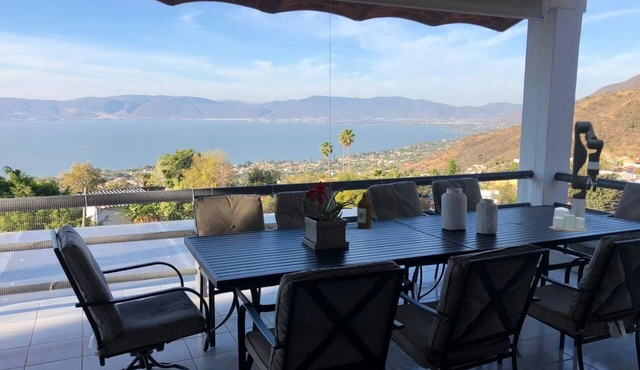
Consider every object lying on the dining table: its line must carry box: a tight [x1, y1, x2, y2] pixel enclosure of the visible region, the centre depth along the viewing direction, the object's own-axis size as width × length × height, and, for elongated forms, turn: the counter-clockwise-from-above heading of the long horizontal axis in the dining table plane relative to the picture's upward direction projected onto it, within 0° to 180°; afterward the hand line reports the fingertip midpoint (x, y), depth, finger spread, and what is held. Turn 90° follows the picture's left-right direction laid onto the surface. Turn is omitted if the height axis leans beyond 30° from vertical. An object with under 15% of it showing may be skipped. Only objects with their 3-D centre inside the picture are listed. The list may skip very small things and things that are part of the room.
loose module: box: [563, 214, 575, 228], centre depth 344 cm, size 4×6×9 cm, turn 85°
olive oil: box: [356, 191, 373, 230], centre depth 345 cm, size 11×11×25 cm
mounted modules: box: [552, 216, 586, 229], centre depth 344 cm, size 6×19×7 cm, turn 86°
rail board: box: [549, 226, 589, 232], centre depth 345 cm, size 10×22×1 cm, turn 86°
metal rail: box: [550, 226, 587, 229], centre depth 345 cm, size 4×22×1 cm, turn 86°
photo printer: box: [553, 206, 570, 218], centre depth 364 cm, size 10×4×12 cm, turn 39°
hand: (591, 191), depth 347 cm, fingers open, 8 cm apart
